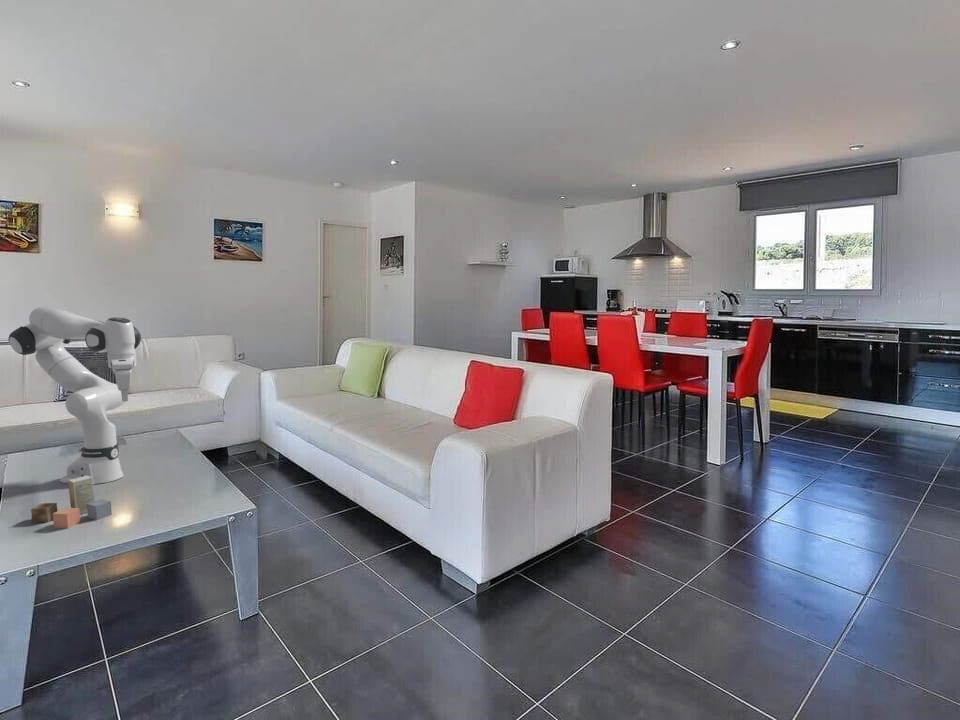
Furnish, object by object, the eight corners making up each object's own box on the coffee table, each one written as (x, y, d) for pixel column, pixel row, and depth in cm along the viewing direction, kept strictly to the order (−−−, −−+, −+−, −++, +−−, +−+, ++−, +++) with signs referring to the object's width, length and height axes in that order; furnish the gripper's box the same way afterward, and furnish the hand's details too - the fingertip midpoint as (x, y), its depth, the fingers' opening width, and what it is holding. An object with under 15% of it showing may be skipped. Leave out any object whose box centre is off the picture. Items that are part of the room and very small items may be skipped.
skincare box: (90, 507, 200) (88, 474, 199) (96, 510, 198) (93, 477, 196) (70, 513, 195) (67, 479, 193) (75, 515, 192) (72, 482, 191)
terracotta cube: (54, 527, 183) (52, 513, 182) (66, 521, 188) (65, 507, 187) (68, 528, 182) (66, 514, 182) (80, 522, 187) (79, 508, 187)
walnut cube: (32, 523, 186) (31, 508, 186) (42, 517, 191) (41, 503, 191) (48, 522, 187) (47, 508, 186) (57, 516, 192) (56, 502, 191)
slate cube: (87, 517, 191) (86, 503, 190) (102, 512, 196) (101, 499, 195) (97, 520, 189) (95, 506, 188) (111, 515, 194) (110, 501, 193)
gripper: (112, 359, 210) (114, 395, 211) (111, 365, 193) (114, 404, 194) (131, 358, 213) (134, 394, 215) (133, 364, 196) (135, 402, 198)
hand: (124, 399), depth 204 cm, fingers open, 8 cm apart
